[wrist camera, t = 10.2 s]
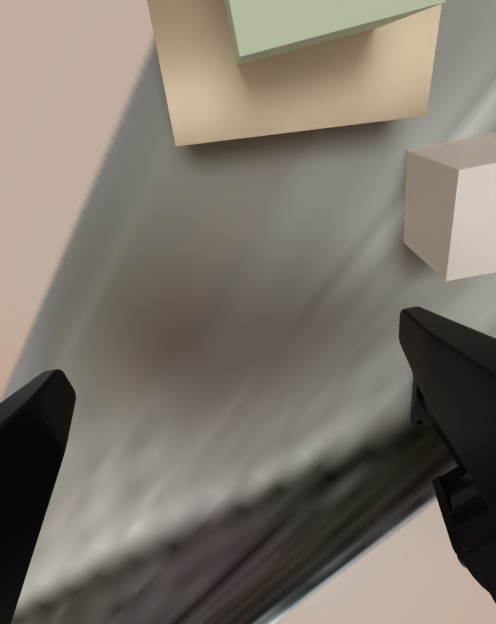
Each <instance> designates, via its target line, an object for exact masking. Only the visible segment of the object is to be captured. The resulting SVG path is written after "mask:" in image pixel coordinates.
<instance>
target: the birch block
mask: <svg viewBox="0 0 496 624" xmlns="http://www.w3.org/2000/svg"><path fill="white" fill-rule="evenodd" d="M147 1H148V6H149V11H150V16H151V22H152V27H153V32H154V37H155V42H156V47H157V52H158V57H159V63H160V68H161V73H162V78H163V83H164V88H165V93H166V98H167V104H168V109H169V114H170V119H171V124H172V129H173V134H174V140H175V145H176V146H183V145H192V144H200V143H208V142H216V141H224V140H232V139H241V138H249V137H257V136H265V135H273V134H281V133H290V132H298V131H306V130H314V129H322V128H331V127H339V126H347V125H355V124H363V123H371V122H380V121H388V120H396V119H404V118H412V117H420V116H426V114H427V107H428V100H429V92H430V85H431V78H432V71H433V63H434V56H435V49H436V42H437V34H438V27H439V20H440V12H441V5H442V4H439V5H436V6H434V7H431V8H429V9H426V10H423V11H421V12H418V13H415V14H413V15H410V16H408V17H405V18H402V19H400V20H397V21H395V22H392V23H389V24H387V25H384V26H381V27H379V28H376V29H373V30H369V31H366V32H362V33H358V34H354V35H350V36H347V37H343V38H339V39H335V40H332V41H328V42H324V43H320V44H317V45H313V46H309V47H305V48H301V49H298V50H294V51H290V52H286V53H283V54H279V55H275V56H271V57H267V58H264V59H260V60H256V61H252V62H249V63H245V64H241V65H237V63H236V58H235V53H234V48H233V43H232V38H231V33H230V28H229V22H228V17H227V12H226V7H225V2H224V0H147Z"/></svg>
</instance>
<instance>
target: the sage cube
mask: <svg viewBox="0 0 496 624" xmlns="http://www.w3.org/2000/svg"><path fill="white" fill-rule="evenodd" d="M224 2H225V7H226V12H227V17H228V22H229V28H230V33H231V38H232V43H233V48H234V53H235V58H236V63H237V65H241V64H245V63H249V62H252V61H256V60H260V59H264V58H267V57H271V56H275V55H279V54H283V53H286V52H290V51H294V50H298V49H301V48H305V47H309V46H313V45H317V44H320V43H324V42H328V41H332V40H335V39H339V38H343V37H347V36H350V35H354V34H358V33H362V32H366V31H369V30H373V29H376V28H379V27H381V26H384V25H387V24H389V23H392V22H395V21H397V20H400V19H402V18H405V17H408V16H410V15H413V14H415V13H418V12H421V11H423V10H426V9H429V8H431V7H434V6H436V5H439V4H442V3H444V2H446V0H224Z"/></svg>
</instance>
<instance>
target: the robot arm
mask: <svg viewBox="0 0 496 624" xmlns="http://www.w3.org/2000/svg"><path fill="white" fill-rule="evenodd" d="M399 340H400V344H401V346H402V349H403V351H404V353H405V356H406V358H407V360H408V363H409V365H410V367H411V370H412V372H413V374H414V377H415V380H414V392H413V403H412V415H411V421H412V423H413V425H414V426H416V427H421V426H427V425H434V427H435V429H436V430H437V432H438V434H439V435H440V437H441V439H442V440H443V442H444V444H445V445H446V447H447V449H448V450H449V452H450V454H451V455H452V457H453V459H454V460H455V462H456V464H457V465H458V467H456V468H454V469H453V470H451V471H449V472H448V473H446V474H444V475H443V476H438V477H436V478H435V479H433V480H432V482H433V485H434V488H435V492H436V497H437V500H438V503H439V506H440V509H441V512H442V516H443V519H444V522H445V525H446V528H447V532H448V535H449V538H450V541H451V544H452V547H453V549H454V551H455V553H456V554H457V557H458V560H459V561H460V563H461V564H462V565H463V566H464V567H466V568H467V569H468V570H469V572H470V573H471V574H472V576H473V577H474V578H475V579H476V580H477V581H478V582H479V584H480V585H481V586H482V587H483V588H485V589H486V590H487V591H488V592H489V593H490V594H491V596H492V598H493V600H494V601H495V603H496V338H493V337H491V336H488V335H486V334H484V333H481V332H479V331H476V330H474V329H472V328H469V327H467V326H464V325H462V324H459V323H457V322H455V321H452V320H450V319H447V318H445V317H442V316H440V315H438V314H435V313H433V312H430V311H428V310H426V309H423V308H421V307H411V308H406V309H403V310H402V311H401V313H400V323H399ZM75 401H76V394H75V391H74V389H73V387H72V385H71V384H70V382H69V380H68V379H67V377H66V375H65V374H64V372H63V371H62V370H59V369H55V370H50V371H45V372H43V373H41V374H40V375H38V376H37V377H36V378H34V379H33V380H32V381H30V382H29V383H27V384H26V385H25V386H23V387H22V388H21V389H19V390H18V391H16V392H15V393H14V394H12V395H11V396H10V397H8V398H7V399H5V400H4V401H3V402H1V403H0V624H11V622H12V618H13V615H14V612H15V609H16V606H17V603H18V599H19V596H20V593H21V590H22V587H23V584H24V580H25V577H26V574H27V571H28V568H29V565H30V561H31V558H32V555H33V552H34V549H35V546H36V542H37V539H38V536H39V533H40V530H41V527H42V523H43V520H44V517H45V514H46V511H47V508H48V504H49V501H50V498H51V495H52V492H53V489H54V485H55V482H56V479H57V476H58V473H59V470H60V466H61V463H62V460H63V457H64V453H65V449H66V445H67V441H68V436H69V431H70V426H71V421H72V416H73V411H74V406H75Z"/></svg>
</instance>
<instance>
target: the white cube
mask: <svg viewBox="0 0 496 624" xmlns="http://www.w3.org/2000/svg"><path fill="white" fill-rule="evenodd" d="M403 242H404V243H405V244H406V245H407V246H408V247H409V248H410V249H411V250H412V251H413V252H415V253H416V254H417V255H418V256H419V257H420V258H421V259H422V260H423V261H424V262H425V263H426V264H428V265H429V266H430V267H431V268H432V269H433V270H434V271H435V272H436V273H437V274H438V275H440V276H441V277H442V278H443V279H444V280H445V281H450V280H456V279H461V278H467V277H472V276H478V275H483V274H489V273H494V272H496V132H494V133H489V134H484V135H479V136H474V137H470V138H465V139H460V140H455V141H450V142H445V143H440V144H435V145H431V146H426V147H421V148H416V149H411V150H407V167H406V190H405V213H404V236H403Z"/></svg>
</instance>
